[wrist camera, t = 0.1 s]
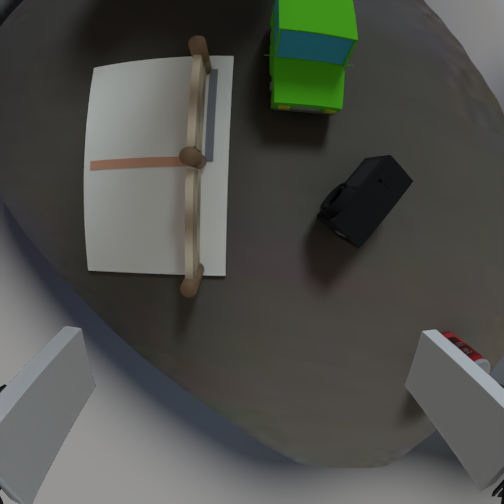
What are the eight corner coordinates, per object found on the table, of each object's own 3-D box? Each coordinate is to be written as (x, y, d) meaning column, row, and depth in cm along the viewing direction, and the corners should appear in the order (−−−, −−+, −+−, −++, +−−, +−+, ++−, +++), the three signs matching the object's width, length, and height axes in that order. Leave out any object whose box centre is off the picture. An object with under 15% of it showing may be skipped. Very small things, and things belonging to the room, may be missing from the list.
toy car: (259, 114, 34) (268, 90, 24) (260, 25, 31) (268, -15, 21) (339, 120, 35) (372, 102, 25) (335, 34, 32) (361, 0, 22)
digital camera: (359, 150, 36) (384, 145, 29) (386, 179, 37) (414, 180, 30) (309, 209, 37) (325, 215, 30) (338, 237, 38) (359, 249, 31)
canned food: (441, 370, 45) (472, 402, 34) (415, 364, 44) (447, 400, 33) (462, 335, 43) (497, 363, 33) (437, 326, 42) (475, 357, 32)
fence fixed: (197, 63, 31) (188, 36, 24) (212, 63, 31) (206, 35, 24) (191, 168, 34) (178, 165, 27) (206, 168, 35) (197, 165, 27)
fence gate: (190, 171, 34) (179, 168, 27) (205, 171, 34) (198, 168, 27) (190, 275, 37) (180, 297, 30) (204, 276, 37) (197, 297, 30)
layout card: (95, 69, 31) (93, 67, 30) (233, 57, 32) (233, 55, 31) (90, 269, 37) (87, 270, 36) (225, 274, 38) (225, 276, 38)
